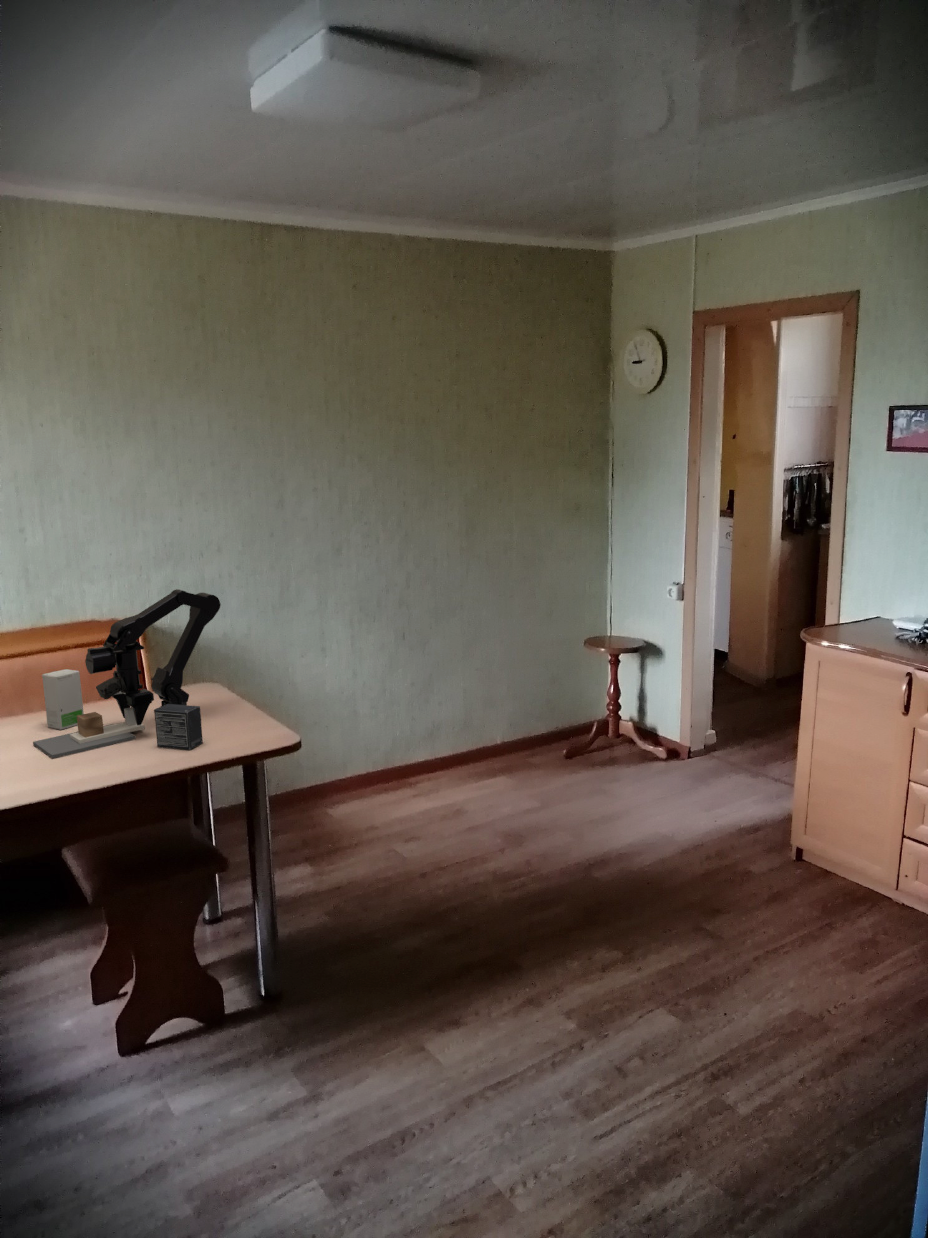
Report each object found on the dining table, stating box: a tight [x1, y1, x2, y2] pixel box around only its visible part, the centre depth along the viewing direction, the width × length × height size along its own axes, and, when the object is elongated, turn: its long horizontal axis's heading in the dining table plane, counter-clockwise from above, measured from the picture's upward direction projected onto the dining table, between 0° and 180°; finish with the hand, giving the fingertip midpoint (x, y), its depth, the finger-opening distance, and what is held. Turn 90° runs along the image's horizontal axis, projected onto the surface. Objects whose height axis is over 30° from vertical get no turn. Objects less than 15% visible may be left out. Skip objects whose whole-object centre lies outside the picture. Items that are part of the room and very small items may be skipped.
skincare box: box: [41, 668, 85, 731], centre depth 275 cm, size 8×7×16 cm
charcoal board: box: [32, 723, 136, 760], centre depth 260 cm, size 22×15×1 cm
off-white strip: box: [69, 706, 146, 744], centre depth 264 cm, size 18×7×6 cm, turn 131°
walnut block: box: [77, 711, 104, 738], centre depth 261 cm, size 5×5×5 cm
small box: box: [153, 704, 204, 751], centre depth 255 cm, size 11×6×10 cm, turn 71°
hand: (132, 721), depth 269 cm, fingers open, 9 cm apart
